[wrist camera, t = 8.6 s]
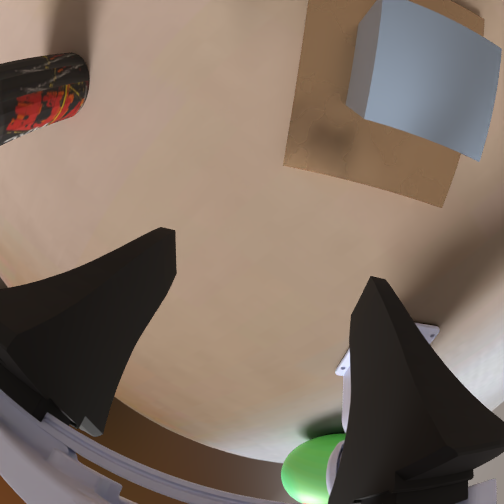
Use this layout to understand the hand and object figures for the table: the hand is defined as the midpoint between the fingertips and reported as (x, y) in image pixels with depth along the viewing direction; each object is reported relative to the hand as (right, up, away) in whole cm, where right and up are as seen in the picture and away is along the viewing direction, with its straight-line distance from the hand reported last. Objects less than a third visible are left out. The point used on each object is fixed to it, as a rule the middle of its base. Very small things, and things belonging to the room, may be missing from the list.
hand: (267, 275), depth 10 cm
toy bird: (+15, -31, +30) cm, 46 cm away
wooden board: (+8, +11, +3) cm, 14 cm away
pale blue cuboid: (+7, +11, +2) cm, 13 cm away
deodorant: (-16, +15, +7) cm, 23 cm away
